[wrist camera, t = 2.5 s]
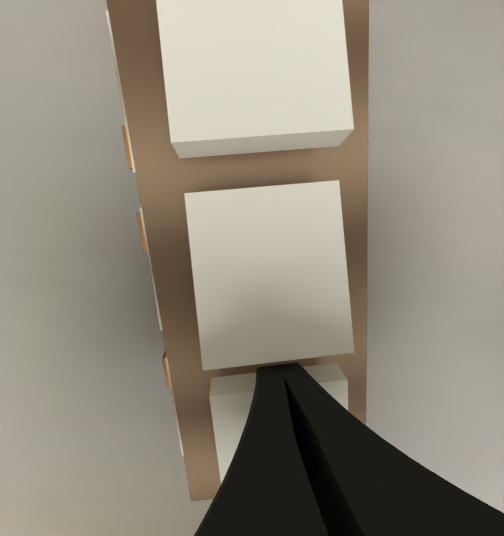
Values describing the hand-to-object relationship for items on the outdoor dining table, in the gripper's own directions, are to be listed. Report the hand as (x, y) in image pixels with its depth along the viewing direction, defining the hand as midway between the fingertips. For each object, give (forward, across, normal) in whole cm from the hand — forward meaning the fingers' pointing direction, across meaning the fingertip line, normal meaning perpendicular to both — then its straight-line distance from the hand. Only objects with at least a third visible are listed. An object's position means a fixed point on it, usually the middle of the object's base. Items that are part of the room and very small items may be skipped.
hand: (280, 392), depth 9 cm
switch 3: (+1, 0, -10) cm, 10 cm away
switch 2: (+1, 0, -4) cm, 4 cm away
